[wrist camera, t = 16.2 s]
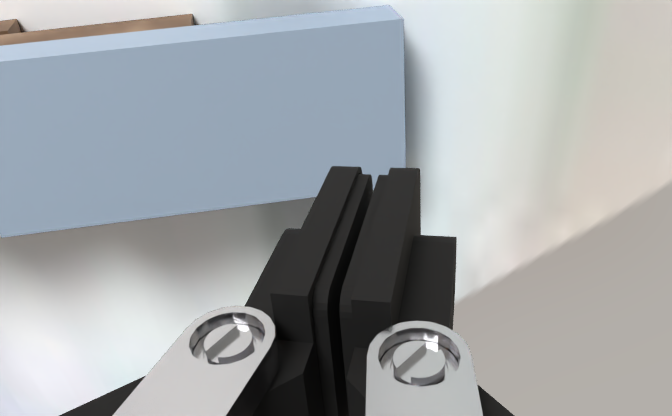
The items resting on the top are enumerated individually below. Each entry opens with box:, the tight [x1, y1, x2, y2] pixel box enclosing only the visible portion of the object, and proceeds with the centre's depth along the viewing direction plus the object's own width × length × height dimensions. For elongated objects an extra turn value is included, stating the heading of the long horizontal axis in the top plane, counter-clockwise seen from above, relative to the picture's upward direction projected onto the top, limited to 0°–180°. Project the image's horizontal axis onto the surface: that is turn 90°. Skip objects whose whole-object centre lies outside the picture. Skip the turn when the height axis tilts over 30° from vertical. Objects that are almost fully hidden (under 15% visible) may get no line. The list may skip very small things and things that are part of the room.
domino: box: [0, 5, 406, 238], centre depth 17 cm, size 2×5×12 cm
